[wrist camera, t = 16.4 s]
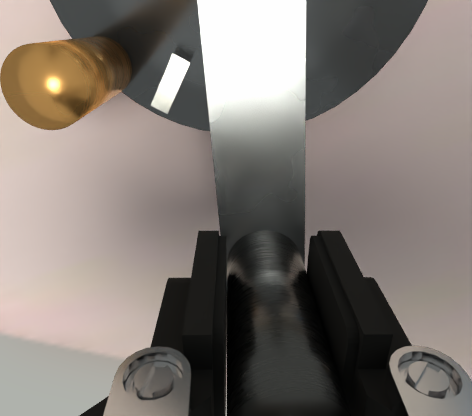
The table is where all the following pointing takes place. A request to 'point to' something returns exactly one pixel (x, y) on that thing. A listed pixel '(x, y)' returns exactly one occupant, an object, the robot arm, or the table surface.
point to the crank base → (186, 58)
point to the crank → (265, 209)
